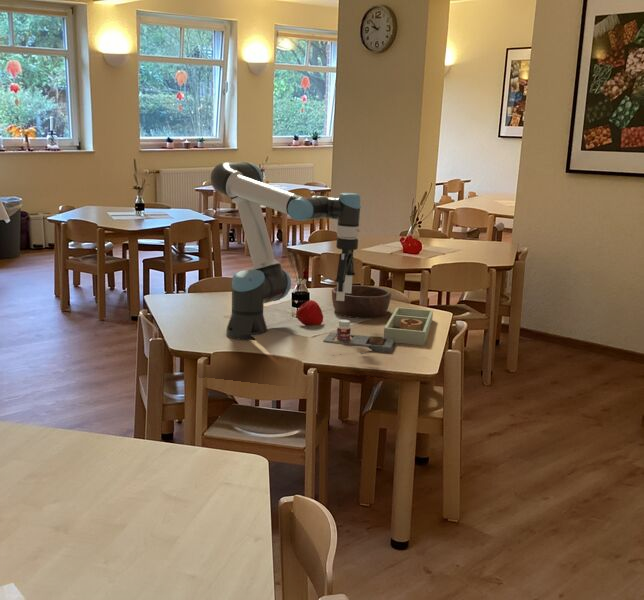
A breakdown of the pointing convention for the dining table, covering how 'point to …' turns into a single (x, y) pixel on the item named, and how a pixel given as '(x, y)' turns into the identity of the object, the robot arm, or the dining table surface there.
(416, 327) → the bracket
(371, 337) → the walnut block
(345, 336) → the pill bottle
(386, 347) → the grey slotted plate
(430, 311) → the parts crate
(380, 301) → the wooden bowl
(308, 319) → the red rounded tapered piece
